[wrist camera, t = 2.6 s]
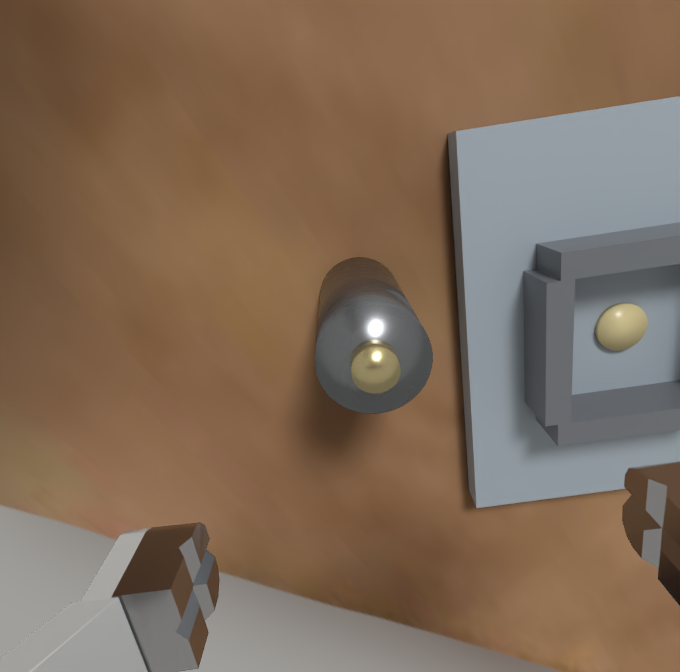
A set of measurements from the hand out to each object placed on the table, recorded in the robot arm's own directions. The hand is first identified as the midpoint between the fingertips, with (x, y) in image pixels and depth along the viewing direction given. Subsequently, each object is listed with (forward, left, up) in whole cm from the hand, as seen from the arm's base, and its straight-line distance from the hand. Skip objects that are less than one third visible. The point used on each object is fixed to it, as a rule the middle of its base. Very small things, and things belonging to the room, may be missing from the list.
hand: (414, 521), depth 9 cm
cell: (0, 0, -16) cm, 16 cm away
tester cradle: (+3, +12, -16) cm, 20 cm away
